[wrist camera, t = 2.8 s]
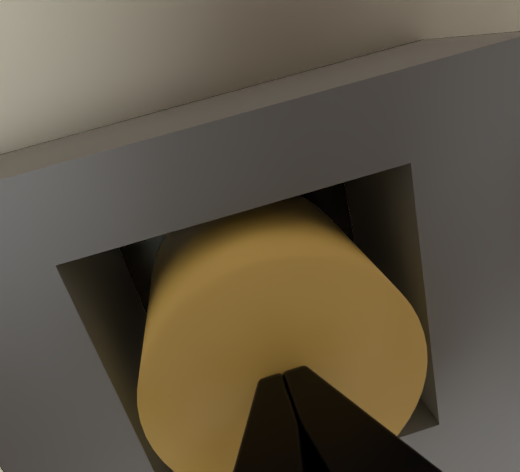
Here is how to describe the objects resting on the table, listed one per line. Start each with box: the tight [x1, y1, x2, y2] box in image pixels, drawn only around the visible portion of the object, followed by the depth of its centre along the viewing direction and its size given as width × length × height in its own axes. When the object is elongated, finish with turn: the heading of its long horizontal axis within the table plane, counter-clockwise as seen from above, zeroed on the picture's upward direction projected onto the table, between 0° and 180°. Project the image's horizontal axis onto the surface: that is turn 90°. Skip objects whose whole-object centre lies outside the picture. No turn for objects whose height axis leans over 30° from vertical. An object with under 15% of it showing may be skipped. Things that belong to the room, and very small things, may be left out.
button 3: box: [137, 195, 428, 472], centre depth 9 cm, size 5×5×4 cm
